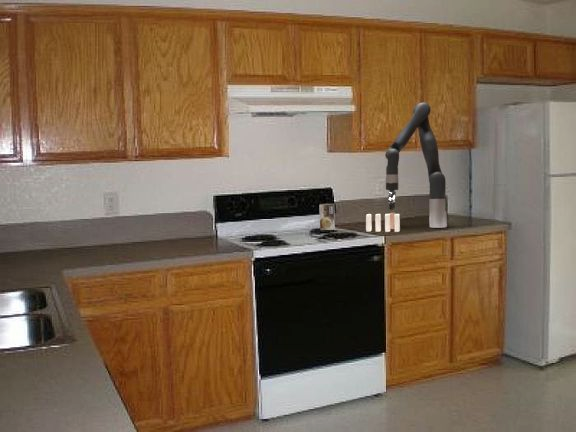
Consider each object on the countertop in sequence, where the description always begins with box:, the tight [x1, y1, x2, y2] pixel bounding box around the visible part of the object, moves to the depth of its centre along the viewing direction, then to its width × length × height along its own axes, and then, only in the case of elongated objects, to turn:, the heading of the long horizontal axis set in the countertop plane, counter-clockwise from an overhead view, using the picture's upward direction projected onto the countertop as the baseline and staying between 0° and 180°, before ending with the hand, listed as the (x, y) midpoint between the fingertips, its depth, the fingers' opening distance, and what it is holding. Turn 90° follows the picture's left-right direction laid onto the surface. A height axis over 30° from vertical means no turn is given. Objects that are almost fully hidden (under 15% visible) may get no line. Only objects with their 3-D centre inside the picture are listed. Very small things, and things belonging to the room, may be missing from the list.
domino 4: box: [389, 212, 396, 230], centre depth 363 cm, size 2×5×10 cm, turn 163°
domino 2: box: [374, 213, 382, 233], centre depth 353 cm, size 2×5×10 cm, turn 163°
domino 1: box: [365, 213, 373, 233], centre depth 355 cm, size 2×5×10 cm, turn 163°
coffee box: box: [318, 203, 336, 231], centre depth 367 cm, size 9×6×16 cm
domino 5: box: [394, 213, 401, 233], centre depth 350 cm, size 2×5×10 cm, turn 163°
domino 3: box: [384, 213, 391, 233], centre depth 352 cm, size 2×5×10 cm, turn 163°
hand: (392, 209), depth 363 cm, fingers open, 8 cm apart
